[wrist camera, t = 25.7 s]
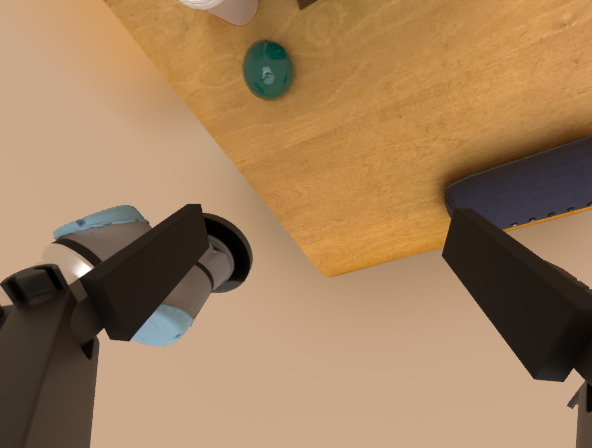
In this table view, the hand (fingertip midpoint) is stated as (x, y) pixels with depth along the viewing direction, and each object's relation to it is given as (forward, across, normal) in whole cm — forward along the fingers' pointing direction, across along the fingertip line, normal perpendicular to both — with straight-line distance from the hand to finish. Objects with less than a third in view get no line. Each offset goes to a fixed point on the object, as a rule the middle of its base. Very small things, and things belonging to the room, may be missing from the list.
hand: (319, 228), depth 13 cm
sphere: (+35, -9, +11) cm, 38 cm away
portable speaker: (+35, +32, -6) cm, 48 cm away
